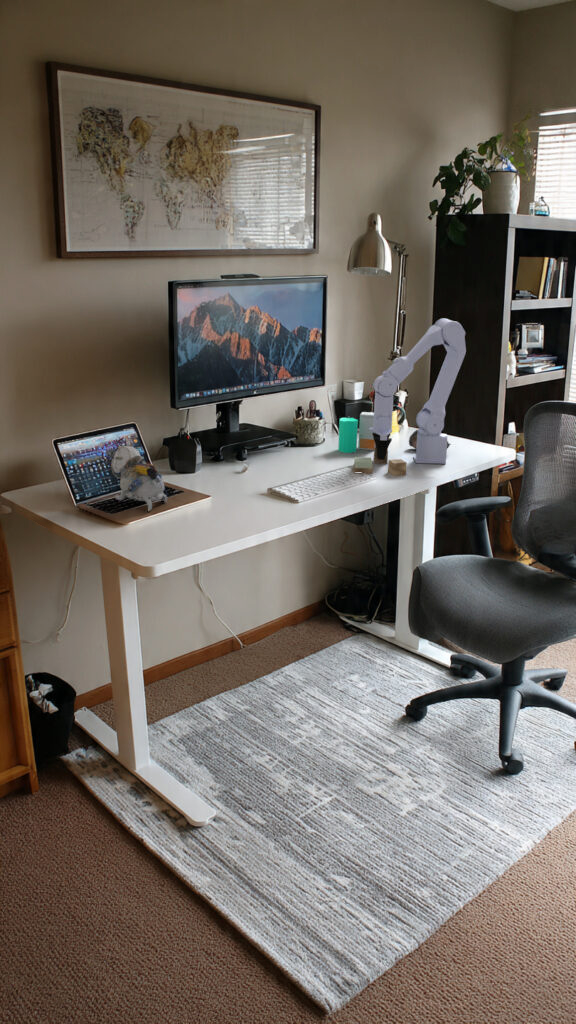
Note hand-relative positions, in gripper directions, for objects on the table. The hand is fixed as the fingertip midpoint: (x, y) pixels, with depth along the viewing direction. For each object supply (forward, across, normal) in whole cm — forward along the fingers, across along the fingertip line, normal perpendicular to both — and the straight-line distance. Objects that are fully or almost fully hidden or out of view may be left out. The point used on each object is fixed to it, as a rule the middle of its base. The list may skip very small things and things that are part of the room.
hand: (380, 457), depth 263 cm
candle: (+2, -13, -10) cm, 16 cm away
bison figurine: (+2, -15, +17) cm, 22 cm away
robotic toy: (+2, +48, -67) cm, 82 cm away
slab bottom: (+2, +11, -6) cm, 13 cm away
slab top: (0, +11, -6) cm, 12 cm away
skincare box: (+2, -16, -3) cm, 16 cm away
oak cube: (+2, +13, +4) cm, 14 cm away
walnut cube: (+1, 0, 0) cm, 1 cm away
